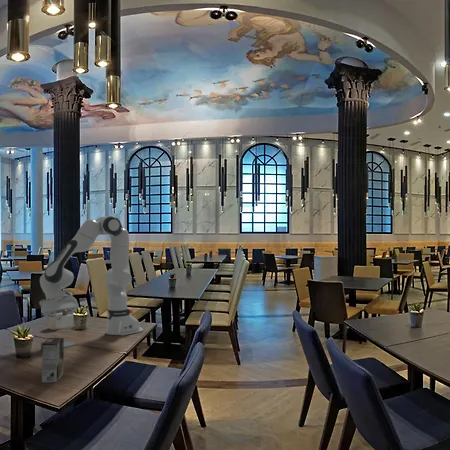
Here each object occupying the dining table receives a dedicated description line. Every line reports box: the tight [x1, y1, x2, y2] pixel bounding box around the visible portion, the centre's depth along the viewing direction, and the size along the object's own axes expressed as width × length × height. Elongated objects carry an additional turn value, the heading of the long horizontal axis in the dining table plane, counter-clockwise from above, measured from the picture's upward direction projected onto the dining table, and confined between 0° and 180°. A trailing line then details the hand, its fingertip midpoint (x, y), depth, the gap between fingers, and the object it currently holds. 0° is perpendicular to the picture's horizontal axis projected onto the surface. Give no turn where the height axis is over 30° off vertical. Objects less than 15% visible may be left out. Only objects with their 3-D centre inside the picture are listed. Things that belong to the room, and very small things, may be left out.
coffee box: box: [41, 337, 65, 383], centre depth 173 cm, size 9×6×16 cm
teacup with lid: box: [48, 313, 63, 331], centre depth 261 cm, size 12×9×12 cm
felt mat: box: [64, 340, 78, 348], centre depth 223 cm, size 9×9×1 cm
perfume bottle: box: [56, 310, 74, 329], centre depth 223 cm, size 6×6×8 cm
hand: (65, 318), depth 222 cm, fingers closed on perfume bottle, 6 cm apart
